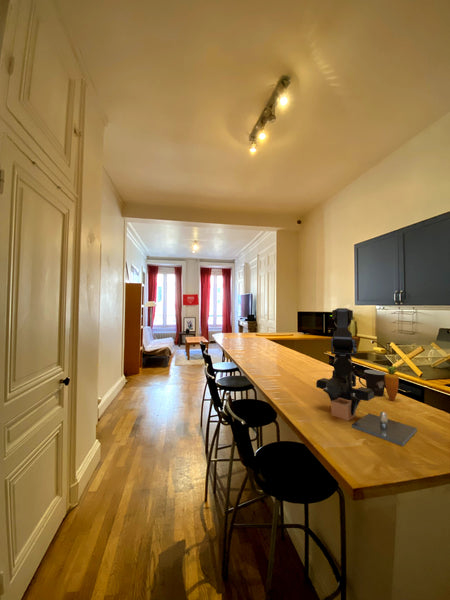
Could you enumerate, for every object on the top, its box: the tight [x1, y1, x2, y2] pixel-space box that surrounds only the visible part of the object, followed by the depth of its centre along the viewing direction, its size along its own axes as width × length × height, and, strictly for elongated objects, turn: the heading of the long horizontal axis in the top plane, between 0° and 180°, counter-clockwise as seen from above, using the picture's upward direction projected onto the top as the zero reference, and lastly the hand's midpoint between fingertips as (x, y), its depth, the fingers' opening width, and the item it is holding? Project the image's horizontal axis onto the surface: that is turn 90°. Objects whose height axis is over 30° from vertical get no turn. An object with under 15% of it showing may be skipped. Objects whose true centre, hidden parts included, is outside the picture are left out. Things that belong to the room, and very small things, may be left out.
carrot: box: [385, 365, 399, 402], centre depth 104 cm, size 5×5×15 cm
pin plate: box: [351, 411, 418, 447], centre depth 79 cm, size 14×14×6 cm
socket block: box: [330, 398, 357, 422], centre depth 89 cm, size 6×6×5 cm
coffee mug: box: [358, 369, 387, 398], centre depth 113 cm, size 12×9×10 cm
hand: (343, 412), depth 89 cm, fingers closed on socket block, 6 cm apart
